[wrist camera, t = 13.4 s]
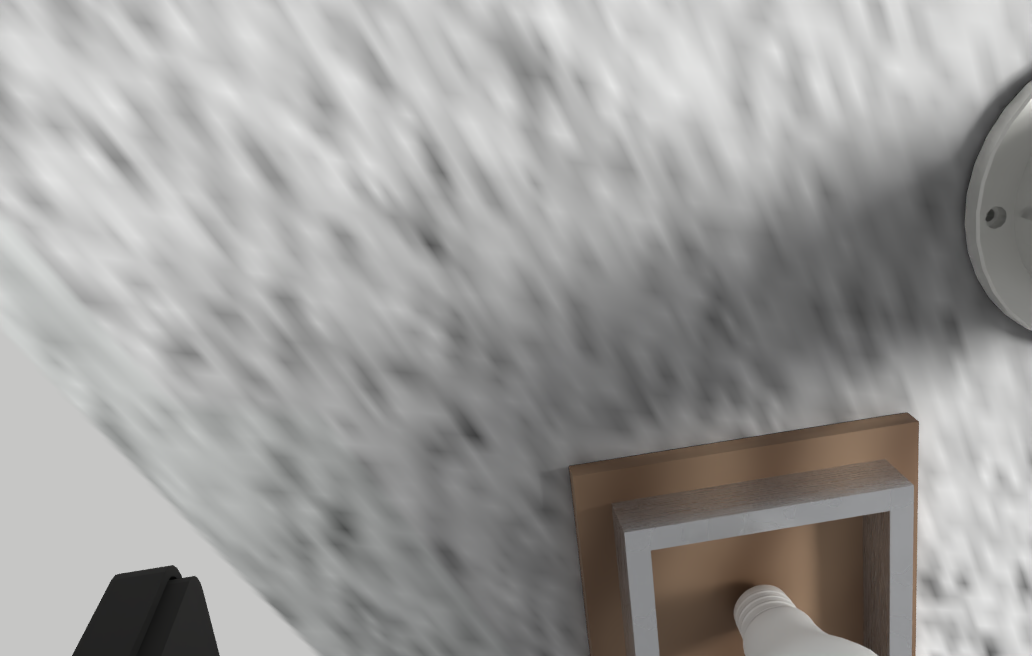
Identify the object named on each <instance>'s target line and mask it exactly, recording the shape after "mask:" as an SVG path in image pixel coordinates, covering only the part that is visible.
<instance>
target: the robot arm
mask: <svg viewBox="0 0 1032 656" xmlns="http://www.w3.org/2000/svg"><path fill="white" fill-rule="evenodd" d="M987 213H988V215H987ZM986 215H987V216H986ZM965 231H966V240H967V249H968V253H969V256H970V259H971V262H972V265H973V268H974V272H975V275H976V277H977V278H978V280H979V282H980V284H981V285H982V287H983V289H984V290H985V292H986V294H987V295H988V297H989V298H990V299H991V300H992V301H993V302H994V304H995V305H996V306H997V307H998V308H999V309H1000V310H1001V311H1002V312H1003V313H1004V314H1005V315H1006V316H1008V317H1009V318H1011V319H1012V320H1014V321H1015V322H1017V323H1018V324H1020V325H1021V326H1023V327H1025V328H1026V329H1028V330H1030V331H1032V80H1031V81H1030V82H1029V83H1028V84H1026V86H1025V87H1024V88H1023V89H1022V90H1021V91H1020V92H1019V93H1018V94H1017V95H1016V97H1015V98H1014V99H1013V100H1012V101H1011V102H1010V103H1009V104H1008V105H1007V107H1006V108H1005V109H1004V110H1003V112H1002V113H1001V115H1000V117H999V118H998V120H997V121H996V123H995V124H994V126H993V127H992V129H991V130H990V132H989V133H988V135H987V137H986V139H985V142H984V144H983V146H982V148H981V151H980V153H979V155H978V157H977V160H976V162H975V164H974V168H973V172H972V176H971V179H970V183H969V187H968V191H967V197H966V211H965ZM72 656H220V655H219V652H218V648H217V644H216V640H215V636H214V632H213V628H212V624H211V621H210V616H209V612H208V609H207V605H206V601H205V597H204V593H203V590H202V586H201V584H200V582H199V580H198V578H197V577H195V576H192V577H186V578H182V576H181V574H180V572H179V570H178V569H177V568H176V567H175V566H173V565H172V566H165V567H159V568H153V569H147V570H141V571H134V572H129V573H122V574H117V575H115V576H114V578H113V579H112V580H111V582H110V584H109V586H108V588H107V590H106V591H105V594H104V595H103V597H102V599H101V601H100V603H99V605H98V607H97V609H96V611H95V613H94V614H93V616H92V618H91V621H90V622H89V624H88V626H87V628H86V630H85V632H84V634H83V636H82V638H81V639H80V641H79V643H78V645H77V647H76V649H75V651H74V653H73V655H72Z"/></svg>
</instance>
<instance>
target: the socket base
mask: <svg viewBox="0 0 1032 656" xmlns="http://www.w3.org/2000/svg"><path fill="white" fill-rule="evenodd" d="M918 439H919V421H917V420H916V419H915V418H914V417H912V416H911V415H910V414H908V413H901V414H895V415H889V416H882V417H876V418H870V419H863V420H857V421H851V422H844V423H838V424H832V425H826V426H819V427H813V428H807V429H800V430H794V431H788V432H781V433H775V434H769V435H762V436H756V437H750V438H743V439H737V440H731V441H725V442H718V443H712V444H706V445H699V446H693V447H687V448H680V449H674V450H668V451H661V452H655V453H649V454H642V455H636V456H630V457H624V458H617V459H611V460H605V461H598V462H592V463H586V464H579V465H573V466H569V472H570V481H571V489H572V498H573V507H574V516H575V525H576V534H577V543H578V552H579V561H580V570H581V579H582V588H583V597H584V606H585V615H586V624H587V633H588V642H589V651H590V656H626V648H625V638H624V628H623V617H622V607H621V597H620V587H619V576H618V566H617V556H616V546H615V535H614V525H613V515H612V505H611V503H614V502H620V501H626V500H632V499H639V498H645V497H651V496H657V495H663V494H670V493H676V492H682V491H688V490H694V489H701V488H707V487H713V486H719V485H725V484H732V483H738V482H744V481H750V480H756V479H762V478H769V477H775V476H781V475H787V474H793V473H800V472H806V471H812V470H818V469H824V468H831V467H837V466H843V465H849V464H855V463H861V462H868V461H874V460H880V459H886V460H887V461H888V462H889V463H890V464H891V465H892V466H893V467H895V468H896V469H897V470H898V471H899V472H900V473H901V474H902V475H903V476H904V477H906V478H907V479H908V480H909V481H910V482H911V483H912V484H913V485H914V522H913V599H912V656H915V647H916V578H917V509H918ZM651 560H652V572H653V584H654V596H655V608H656V619H657V631H658V643H659V655H660V656H745V653H744V649H743V638H742V636H741V634H740V632H739V629H738V627H737V625H736V622H735V619H734V607H735V604H736V602H737V600H738V599H739V597H740V596H741V595H742V594H743V593H744V592H745V591H747V590H748V589H750V588H752V587H755V586H758V585H772V586H775V587H777V588H779V589H781V590H782V591H783V592H784V593H785V594H786V596H787V597H789V599H790V600H791V601H792V603H793V604H794V605H795V606H796V608H797V609H799V610H801V611H803V612H804V613H806V614H807V615H808V616H809V617H810V618H811V619H812V621H813V622H814V623H815V624H816V626H818V627H819V628H820V629H821V630H822V631H823V632H825V633H827V634H829V635H833V636H837V637H841V638H844V639H847V640H849V641H852V642H855V643H857V644H860V645H862V646H864V641H863V515H862V516H856V517H850V518H844V519H838V520H832V521H826V522H820V523H814V524H808V525H802V526H796V527H790V528H784V529H778V530H772V531H766V532H760V533H754V534H748V535H741V536H735V537H729V538H723V539H717V540H711V541H705V542H699V543H693V544H687V545H681V546H675V547H669V548H663V549H657V550H651Z"/></svg>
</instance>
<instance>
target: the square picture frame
mask: <svg viewBox="0 0 1032 656" xmlns="http://www.w3.org/2000/svg"><path fill="white" fill-rule="evenodd" d="M611 505H612V515H613V525H614V535H615V546H616V556H617V566H618V576H619V587H620V597H621V607H622V617H623V628H624V638H625V648H626V656H660V655H659V643H658V631H657V619H656V608H655V596H654V584H653V572H652V560H651V550H657V549H663V548H669V547H675V546H681V545H687V544H693V543H699V542H705V541H711V540H717V539H723V538H729V537H735V536H741V535H748V534H754V533H760V532H766V531H772V530H778V529H784V528H790V527H796V526H802V525H808V524H814V523H820V522H826V521H832V520H838V519H844V518H850V517H856V516H862V515H863V641H864V647H866V648H868V649H870V650H871V651H873V652H874V653H875V654H877V655H878V656H912V599H913V522H914V485H913V484H912V483H911V482H910V481H909V480H908V479H907V478H906V477H904V476H903V475H902V474H901V473H900V472H899V471H898V470H897V469H896V468H895V467H893V466H892V465H891V464H890V463H889V462H888V461H887V460H886V459H880V460H874V461H868V462H861V463H855V464H849V465H843V466H837V467H831V468H824V469H818V470H812V471H806V472H800V473H793V474H787V475H781V476H775V477H769V478H762V479H756V480H750V481H744V482H738V483H732V484H725V485H719V486H713V487H707V488H701V489H694V490H688V491H682V492H676V493H670V494H663V495H657V496H651V497H645V498H639V499H632V500H626V501H620V502H614V503H611Z"/></svg>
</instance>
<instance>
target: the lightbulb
mask: <svg viewBox="0 0 1032 656" xmlns="http://www.w3.org/2000/svg"><path fill="white" fill-rule="evenodd" d="M734 619H735V622H736V625H737V627H738V629H739V632H740V634H741V636H742V638H743V649H744V653H745V656H878V655H877V654H875V653H874V652H873V651H871V650H870V649H868V648H866V647H864V646H862V645H860V644H857V643H855V642H852V641H849V640H847V639H844V638H841V637H837V636H833V635H829V634H827V633H825V632H823V631H822V630H821V629H820V628H819V627H818V626H816V624H815V623H814V622H813V621H812V619H811V618H810V617H809V616H808V615H807V614H806V613H804V612H803V611H801V610H799V609H797V608H796V606H795V605H794V604H793V603H792V601H791V600H790V599H789V597H787V596H786V594H785V593H784V592H783V591H782V590H781V589H779V588H777V587H775V586H772V585H758V586H755V587H752V588H750V589H748V590H747V591H745V592H744V593H743V594H742V595H741V596H740V597H739V599H738V600H737V602H736V604H735V607H734Z"/></svg>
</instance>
